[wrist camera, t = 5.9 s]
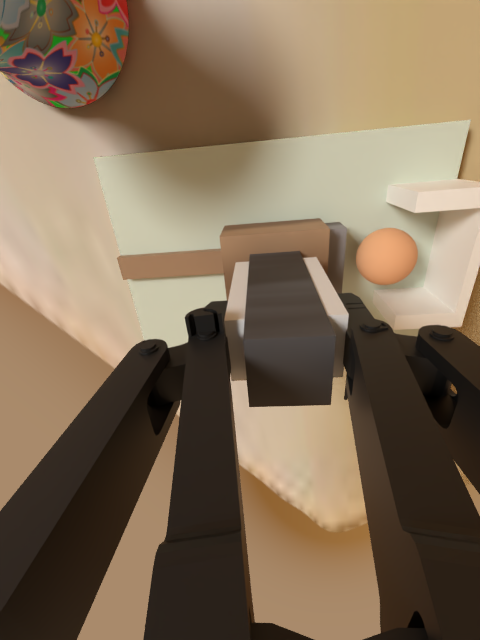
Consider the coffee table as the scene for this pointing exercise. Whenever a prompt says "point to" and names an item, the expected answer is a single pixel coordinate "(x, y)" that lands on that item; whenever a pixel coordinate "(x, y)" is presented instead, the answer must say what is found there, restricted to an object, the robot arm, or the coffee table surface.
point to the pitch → (264, 208)
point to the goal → (438, 255)
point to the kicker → (286, 307)
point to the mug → (63, 48)
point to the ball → (386, 256)
